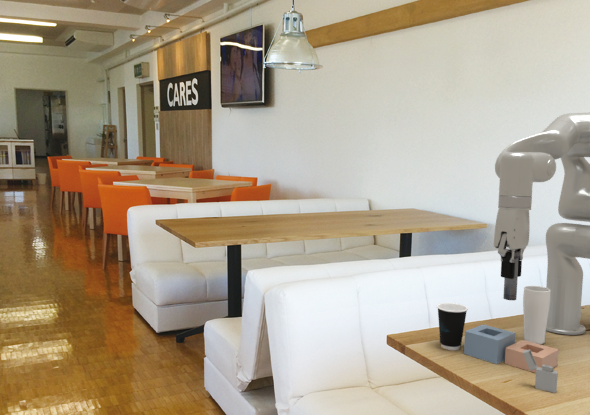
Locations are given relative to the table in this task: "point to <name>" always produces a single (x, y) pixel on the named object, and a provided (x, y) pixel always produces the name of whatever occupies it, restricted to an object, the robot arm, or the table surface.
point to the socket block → (488, 343)
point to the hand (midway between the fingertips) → (510, 276)
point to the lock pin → (512, 280)
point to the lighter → (542, 374)
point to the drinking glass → (536, 313)
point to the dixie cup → (451, 324)
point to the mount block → (539, 352)
